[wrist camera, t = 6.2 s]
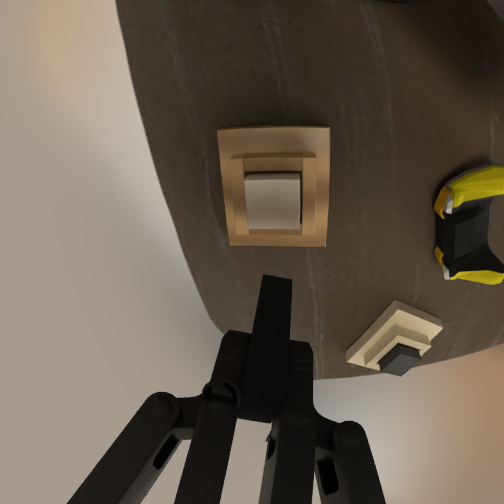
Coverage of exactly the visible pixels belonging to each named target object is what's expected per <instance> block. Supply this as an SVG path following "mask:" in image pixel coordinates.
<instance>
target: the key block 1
mask: <svg viewBox="0 0 504 504" xmlns="http://www.w3.org/2000/svg"><path fill="white" fill-rule="evenodd" d="M217 137H218V147H219V157H220V166H221V175H222V185H223V194H224V203H225V211H226V220H227V228H228V237H229V245H239V246H305V247H326V235H327V220H328V201H329V175H330V127H328V126H327V125H260V126H240V127H226V128H221V129H219V130H217ZM248 173H299V176H300V229H248V222H247V210H246V198H245V185H244V180H245V178H246V176H247V174H248Z"/></svg>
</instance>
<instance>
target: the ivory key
mask: <svg viewBox="0 0 504 504" xmlns="http://www.w3.org/2000/svg"><path fill="white" fill-rule="evenodd" d="M244 185H245V198H246V210H247V222H248V229H300V176H299V173H248V174H247V176H246V178H245V180H244Z"/></svg>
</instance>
